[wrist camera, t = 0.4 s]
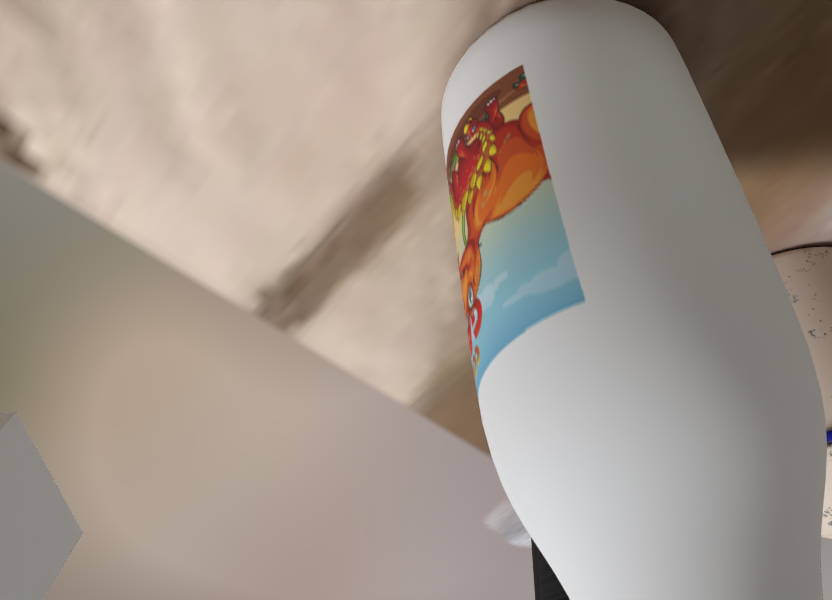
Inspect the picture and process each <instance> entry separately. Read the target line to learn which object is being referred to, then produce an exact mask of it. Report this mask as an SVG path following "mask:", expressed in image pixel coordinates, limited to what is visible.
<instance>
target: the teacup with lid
mask: <svg viewBox="0 0 832 600" xmlns="http://www.w3.org/2000/svg"><path fill="white" fill-rule="evenodd" d="M772 258H773V260H774V262H775V265H776V267H777V269H778V271H779V274H780V276H781V278H782V280H783V283H784V285H785V288H786V290H787V293H788V295H789V298H790V300H791V303H792V306H793V308H794V311H795V313H796V316H797V318H798V321H799V323H800V326H801V328H802V331H803V334H804V336H805V339H806V341H807V344H808V346H809V349H810V353H811V356H812V360H813V364H814V367H815V371H816V374H817V378H818V382H819V385H820V389H821V394H822V400H823V407H824V413H825V419H826V437H827V462H826V481H825V492H824V503H823V515H822V528H821V536H822V537H826V538H830V539H832V247H812V248H803V249H797V250H791V251H787V252H782V253H779V254H775V255H772Z"/></svg>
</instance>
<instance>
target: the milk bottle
mask: <svg viewBox="0 0 832 600" xmlns="http://www.w3.org/2000/svg"><path fill="white" fill-rule="evenodd" d="M441 120H442V134H443V144H444V153H445V161H446V169H447V177H448V185H449V193H450V201H451V209H452V217H453V225H454V233H455V241H456V248H457V256H458V264H459V272H460V279H461V287H462V294H463V301H464V308H465V316H466V323H467V330H468V337H469V345H470V352H471V359H472V366H473V371H474V377H475V383H476V389H477V394H478V400H479V406H480V411H481V417H482V423H483V427H484V430H485V434H486V438H487V441H488V445H489V449H490V452H491V456H492V459H493V462H494V464H495V467H496V470H497V472H498V475H499V477H500V480H501V483H502V485H503V488H504V490H505V492H506V494H507V496H508V498H509V500H510V502H511V504H512V506H513V508H514V510H515V511H516V513H517V515H518V516H519V518H520V520H521V521H522V523H523V525H524V526H525V528H526V530H527V531H528V533H529V534H530V536H531V538H532V539H533V541H534V542H535V544H536V545H537V547H538V548H539V550H540V551H541V553H542V554H543V556H544V557H545V559H546V560H547V562H548V564H549V565H550V567H551V568H552V570H553V571H554V573H555V574H556V576H557V578H558V580H559V581H560V583H561V585H562V586H563V588H564V590H565V592H566V593H567V595H568V597H569V599H570V600H823V592H822V581H821V580H822V579H821V556H820V555H821V528H822V515H823V503H824V492H825V481H826V462H827V437H826V419H825V413H824V407H823V400H822V394H821V389H820V385H819V382H818V378H817V374H816V371H815V367H814V364H813V360H812V356H811V353H810V349H809V346H808V344H807V341H806V339H805V336H804V334H803V331H802V328H801V326H800V323H799V321H798V318H797V316H796V313H795V311H794V308H793V306H792V303H791V300H790V298H789V295H788V293H787V290H786V288H785V285H784V283H783V280H782V278H781V276H780V274H779V271H778V269H777V267H776V265H775V262H774V260H773V258H772V255H771V253H770V251H769V249H768V246H767V244H766V242H765V240H764V237H763V235H762V233H761V230H760V228H759V226H758V224H757V221H756V219H755V217H754V215H753V212H752V210H751V208H750V205H749V203H748V201H747V199H746V196H745V194H744V192H743V190H742V187H741V185H740V183H739V181H738V179H737V176H736V174H735V172H734V170H733V168H732V165H731V163H730V161H729V159H728V157H727V154H726V152H725V150H724V148H723V145H722V143H721V141H720V139H719V137H718V134H717V132H716V130H715V128H714V126H713V123H712V121H711V119H710V117H709V115H708V112H707V110H706V108H705V106H704V104H703V102H702V99H701V97H700V95H699V93H698V91H697V89H696V86H695V84H694V82H693V80H692V78H691V75H690V73H689V71H688V69H687V67H686V65H685V63H684V61H683V59H682V57H681V55H680V53H679V51H678V49H677V47H676V45H675V44H674V42H673V40H672V38H671V37H670V35H669V34H668V32H667V31H666V30H665V29H664V28H663V27H662V26H661V24H660V23H658V22H657V21H656V20H655V19H654V18H652V17H651V16H649V15H648V14H646V13H645V12H643V11H641V10H639V9H637V8H635V7H633V6H631V5H629V4H627V3H623V2H620V1H616V0H545V1H541V2H538V3H534V4H530V5H528V6H526V7H524V8H522V9H520V10H518V11H516V12H513V13H511V14H509V15H507V16H505V17H504V18H503V19H501V20H500V21H499V22H497V23H496V24H494V25H493V26H491V27H490V28H488V29H487V30H486V31H485V32H484V33H483V34H482V35H481V36H480V37H479V38H478V39H477V40H476V41H475V42H474V43H473V44H471V45H470V46H469V48H468V50H467V51H466V53H465V54H464V56H463V57H462V58H461V60H460V61H459V62H458V64H457V65H456V67H455V69H454V71H453V73H452V75H451V77H450V79H449V81H448V84H447V87H446V89H445V93H444V97H443V102H442V110H441Z"/></svg>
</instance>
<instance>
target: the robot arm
mask: <svg viewBox="0 0 832 600" xmlns="http://www.w3.org/2000/svg"><path fill="white" fill-rule="evenodd" d="M82 533H83V532H82V531H81V529H80V527H79V525H78V523H77V521H76V519H75V518H74V516H73V514H72V512H71V510H70V509H69V507H68V505H67V503H66V501H65V499H64V497H63V496H62V494H61V492H60V490H59V488H58V486H57V485H56V483H55V481H54V479H53V478H52V476H51V474H50V472H49V470H48V468H47V467H46V465H45V463H44V461H43V459H42V457H41V455H40V454H39V452H38V450H37V448H36V446H35V445H34V443H33V441H32V439H31V437H30V435H29V434H28V432H27V430H26V428H25V426H24V424H23V423H22V421H21V419H20V417H19V415H18V414H17V412H8V413H0V600H43V599H44V597H45V595H46V594H47V592H48V590H49V589H50V587H51V585H52V584H53V582H54V580H55V579H56V577H57V575H58V574H59V572H60V570H61V568H62V567H63V565H64V563H65V562H66V560H67V558H68V557H69V555H70V553H71V552H72V550H73V548H74V546H75V545H76V543H77V542H78V540H79V538H80V537H81V535H82Z"/></svg>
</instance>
